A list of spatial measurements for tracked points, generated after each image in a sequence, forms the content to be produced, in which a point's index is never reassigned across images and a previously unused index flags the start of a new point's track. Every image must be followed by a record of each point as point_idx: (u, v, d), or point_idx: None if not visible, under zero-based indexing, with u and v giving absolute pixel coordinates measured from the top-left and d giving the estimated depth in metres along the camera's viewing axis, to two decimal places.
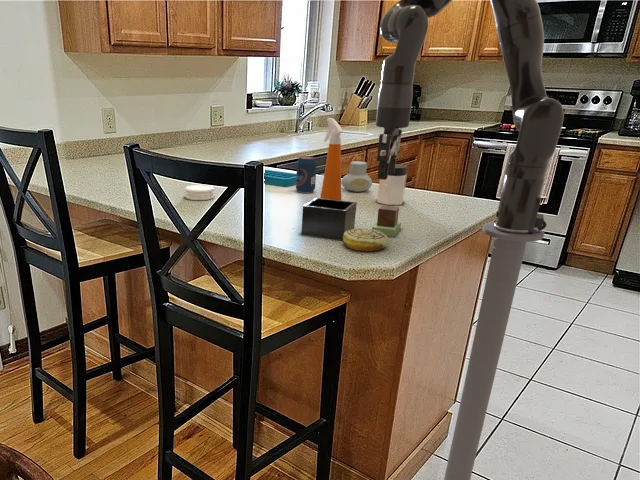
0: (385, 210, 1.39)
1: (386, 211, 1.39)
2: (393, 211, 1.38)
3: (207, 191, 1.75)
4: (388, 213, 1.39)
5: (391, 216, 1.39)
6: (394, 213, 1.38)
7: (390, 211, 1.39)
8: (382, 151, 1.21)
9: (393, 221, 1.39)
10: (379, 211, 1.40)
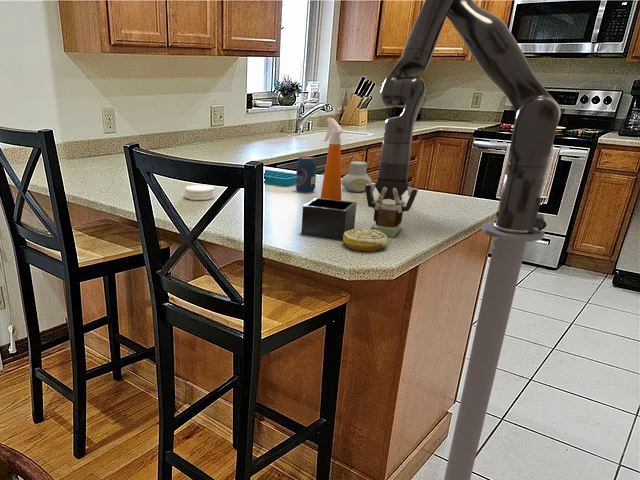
0: (385, 210, 1.39)
1: (386, 211, 1.39)
2: (393, 211, 1.38)
3: (207, 191, 1.75)
4: (388, 213, 1.39)
5: (391, 216, 1.39)
6: (394, 213, 1.38)
7: (390, 211, 1.39)
8: (400, 202, 1.38)
9: (393, 221, 1.39)
10: (379, 211, 1.40)
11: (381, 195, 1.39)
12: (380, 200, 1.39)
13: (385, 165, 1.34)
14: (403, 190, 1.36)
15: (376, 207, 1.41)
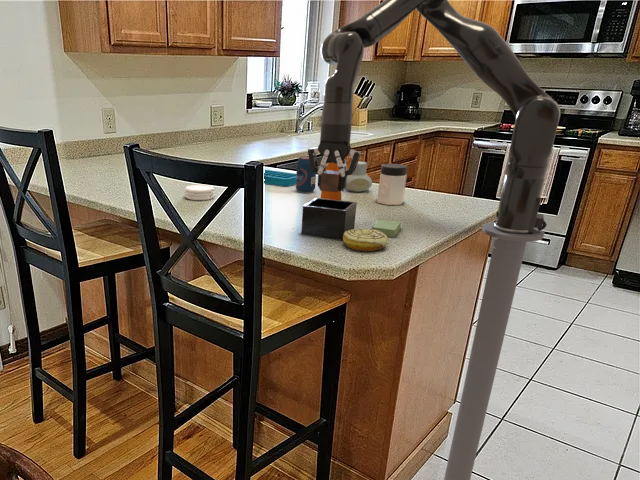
0: (328, 174, 1.34)
1: (329, 175, 1.34)
2: (336, 175, 1.34)
3: (207, 191, 1.75)
4: (331, 177, 1.34)
5: (334, 180, 1.34)
6: (337, 177, 1.34)
7: (333, 175, 1.34)
8: (343, 166, 1.33)
9: (336, 186, 1.35)
10: (322, 175, 1.35)
11: (324, 159, 1.34)
12: (323, 164, 1.35)
13: (326, 126, 1.29)
14: (345, 153, 1.32)
15: (319, 172, 1.36)
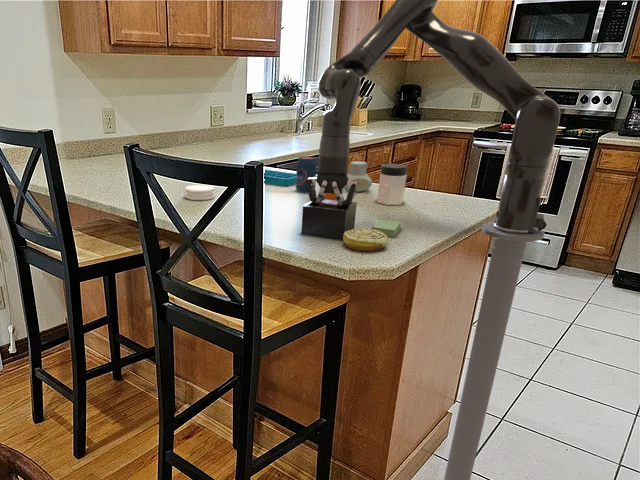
0: (326, 204, 1.38)
1: (327, 205, 1.38)
2: (333, 205, 1.37)
3: (207, 191, 1.75)
4: (329, 207, 1.38)
5: None
6: (334, 207, 1.37)
7: (331, 205, 1.37)
8: (341, 196, 1.37)
9: None
10: (320, 205, 1.38)
11: (321, 189, 1.37)
12: (321, 194, 1.38)
13: (323, 158, 1.32)
14: (343, 184, 1.35)
15: (317, 201, 1.39)
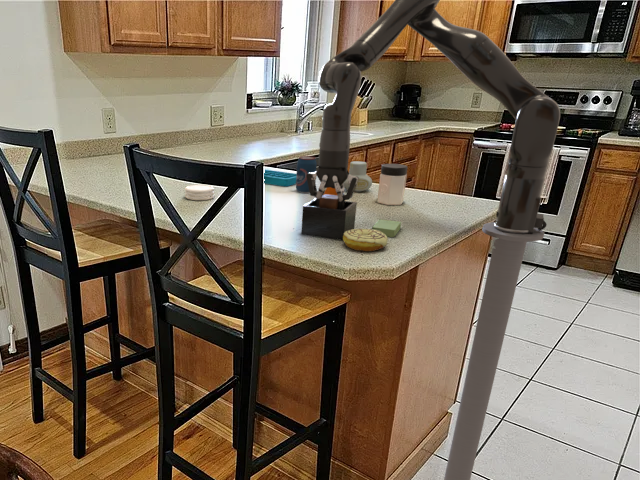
0: (326, 199, 1.37)
1: (327, 200, 1.37)
2: (334, 200, 1.36)
3: (207, 191, 1.75)
4: (329, 202, 1.37)
5: (332, 204, 1.37)
6: (335, 202, 1.36)
7: (331, 200, 1.36)
8: (341, 191, 1.36)
9: None
10: (320, 200, 1.38)
11: (322, 183, 1.37)
12: (321, 189, 1.37)
13: (324, 152, 1.32)
14: (343, 178, 1.34)
15: (318, 196, 1.39)
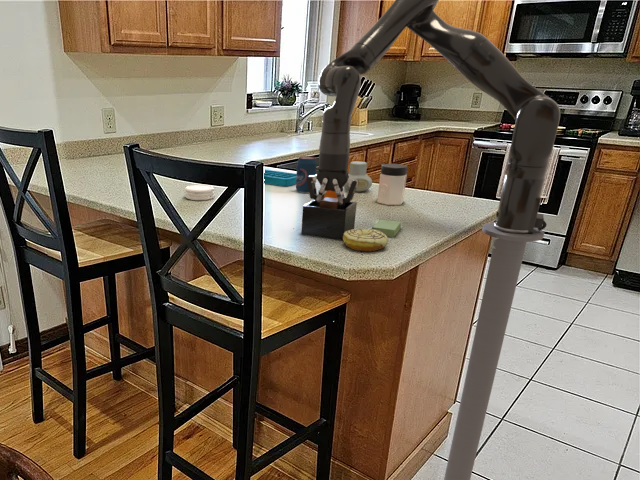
0: (326, 202, 1.37)
1: (327, 203, 1.37)
2: (334, 203, 1.36)
3: (207, 191, 1.75)
4: (329, 205, 1.37)
5: (332, 208, 1.37)
6: (335, 205, 1.36)
7: (331, 203, 1.37)
8: (341, 194, 1.36)
9: None
10: (320, 203, 1.38)
11: (322, 186, 1.37)
12: (321, 192, 1.37)
13: (324, 156, 1.32)
14: (343, 181, 1.34)
15: (318, 199, 1.39)
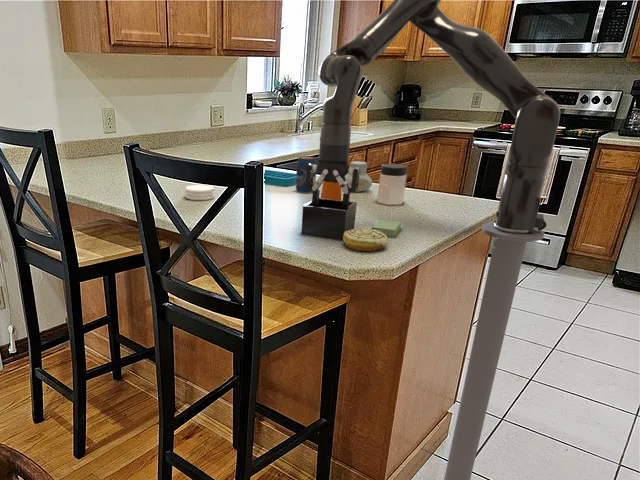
0: None
1: None
2: None
3: (207, 191, 1.75)
4: None
5: None
6: None
7: None
8: (345, 183, 1.35)
9: None
10: None
11: (322, 178, 1.36)
12: (319, 182, 1.37)
13: (324, 146, 1.31)
14: (344, 172, 1.34)
15: (314, 188, 1.38)
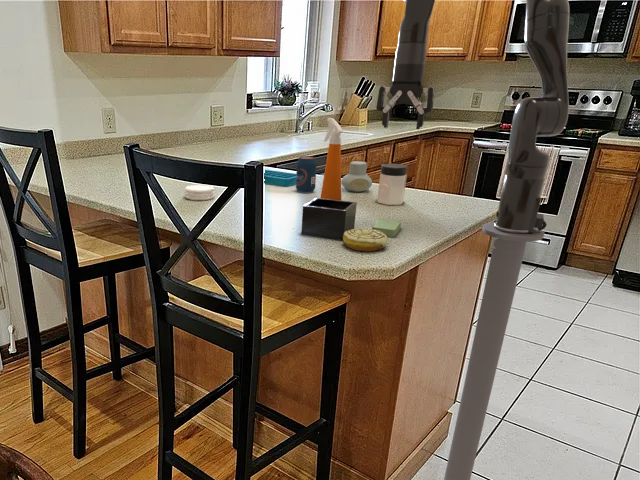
0: None
1: None
2: None
3: (207, 191, 1.75)
4: None
5: None
6: None
7: None
8: (419, 104, 1.37)
9: None
10: None
11: (396, 100, 1.38)
12: (391, 103, 1.39)
13: (400, 66, 1.33)
14: (418, 93, 1.36)
15: (385, 110, 1.40)
